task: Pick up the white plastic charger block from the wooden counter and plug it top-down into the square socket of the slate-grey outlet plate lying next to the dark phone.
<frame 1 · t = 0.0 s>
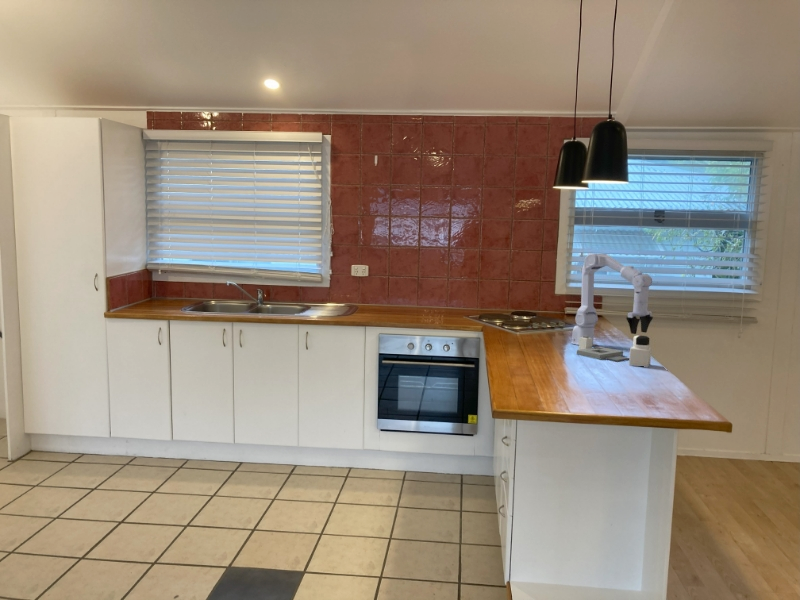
hand: (638, 332, 264), 10 cm above the worktop, tool pointing down, fingers open, 7 cm apart
outlet plate: (599, 355, 265), on the worktop
medicine bottle: (639, 365, 246), on the worktop
charger: (585, 351, 273), on the worktop
phone: (617, 361, 256), on the worktop
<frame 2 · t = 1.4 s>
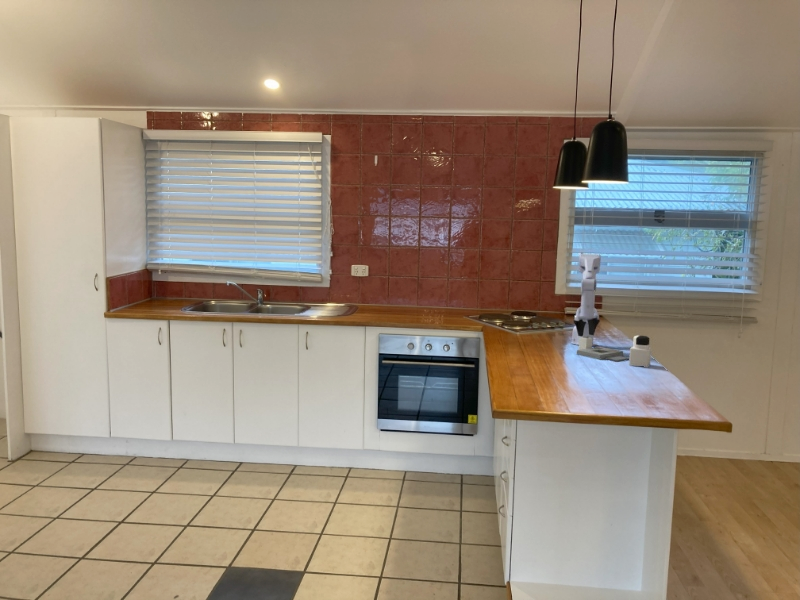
hand: (585, 335, 273), 7 cm above the worktop, tool pointing down, fingers open, 7 cm apart
nothing on the worktop moved.
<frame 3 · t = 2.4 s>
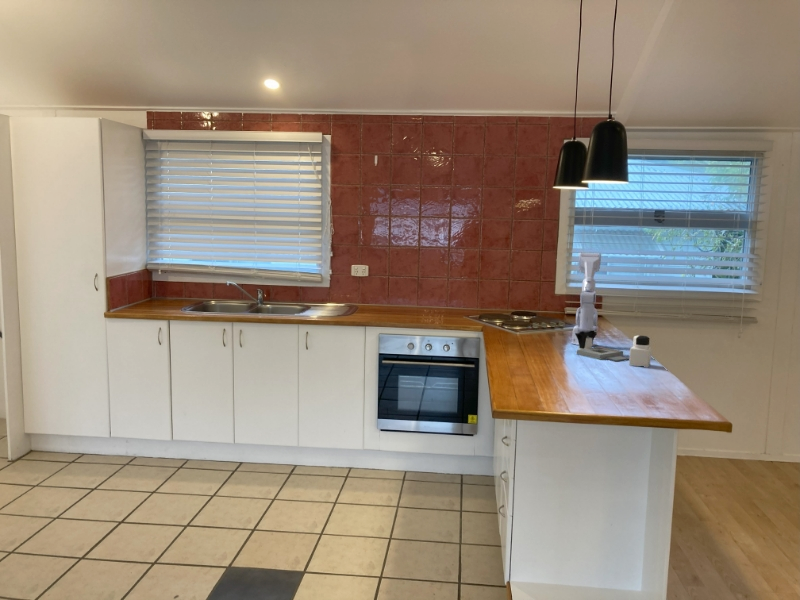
hand: (585, 347, 273), 1 cm above the worktop, tool pointing down, fingers closed on charger, 4 cm apart
charger: (585, 350, 273), on the worktop, touching gripper
everything else where it was.
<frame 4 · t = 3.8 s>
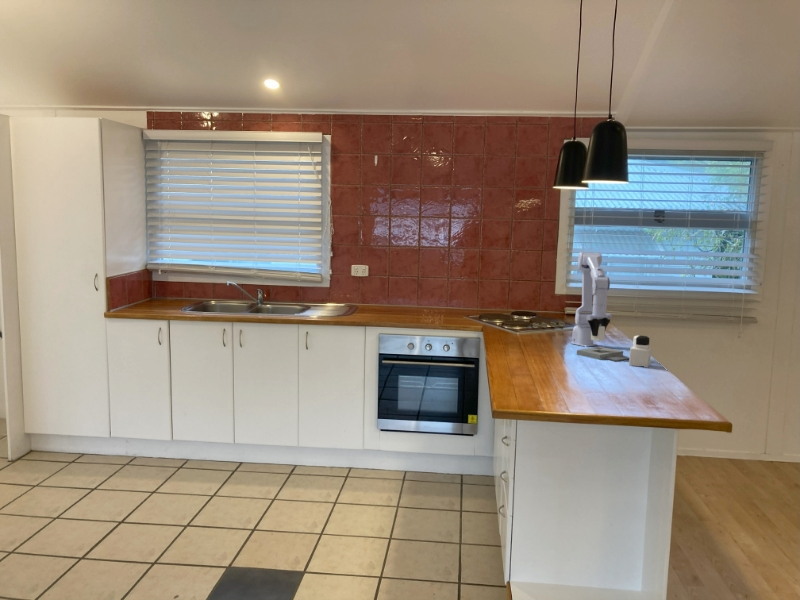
hand: (598, 335, 264), 9 cm above the worktop, tool pointing down, fingers closed on charger, 4 cm apart
charger: (597, 339, 265), point 7 cm above the worktop, touching gripper
everything else where it was.
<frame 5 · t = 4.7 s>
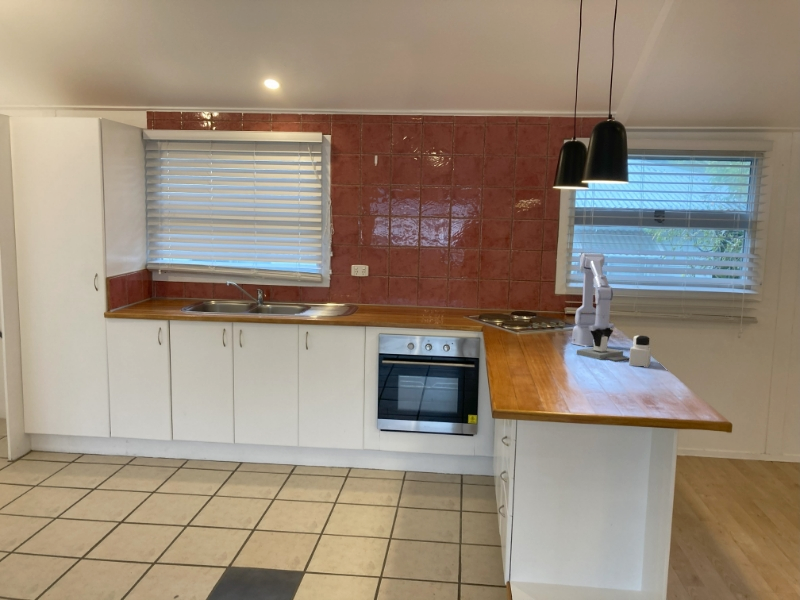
hand: (600, 345, 263), 4 cm above the worktop, tool pointing down, fingers closed on charger, 4 cm apart
charger: (600, 350, 263), point 2 cm above the worktop, touching gripper
everything else where it was.
when the fingers open (3 cm above the worktop, at t = 5.4 s): charger stays where it is, resting on outlet plate.
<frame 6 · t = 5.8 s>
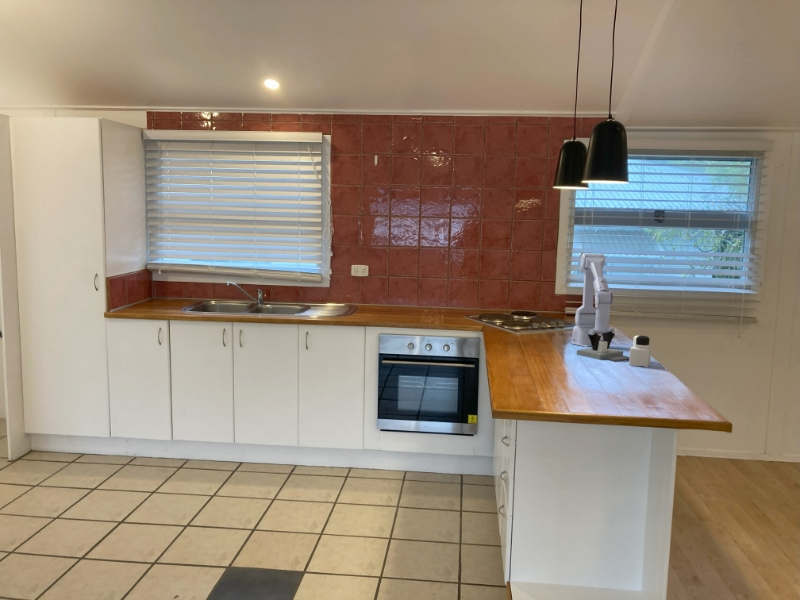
hand: (600, 349, 263), 3 cm above the worktop, tool pointing down, fingers open, 7 cm apart
charger: (599, 355, 263), resting on outlet plate
everything else where it was.
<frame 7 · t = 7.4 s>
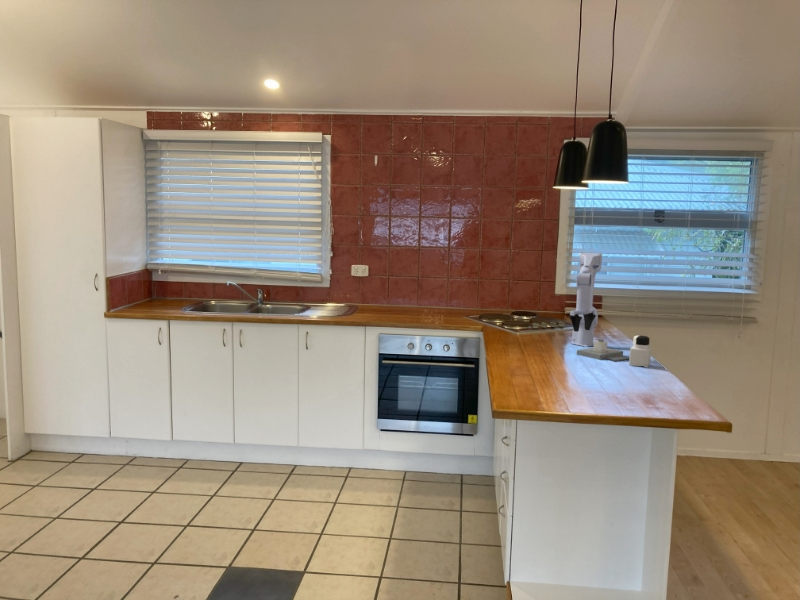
hand: (581, 330, 268), 10 cm above the worktop, tool pointing down, fingers open, 7 cm apart
nothing on the worktop moved.
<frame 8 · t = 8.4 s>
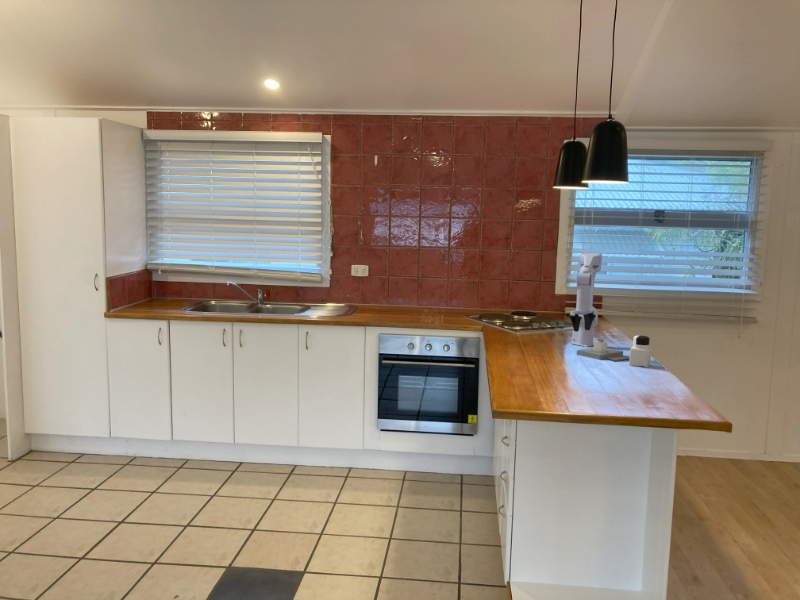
hand: (581, 330, 268), 10 cm above the worktop, tool pointing down, fingers open, 7 cm apart
nothing on the worktop moved.
at the end: charger 0.2 cm from the target spot on the outlet plate, point 0.2 cm above the outlet plate's base; charger tilted 0°; the gripper is holding nothing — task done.
